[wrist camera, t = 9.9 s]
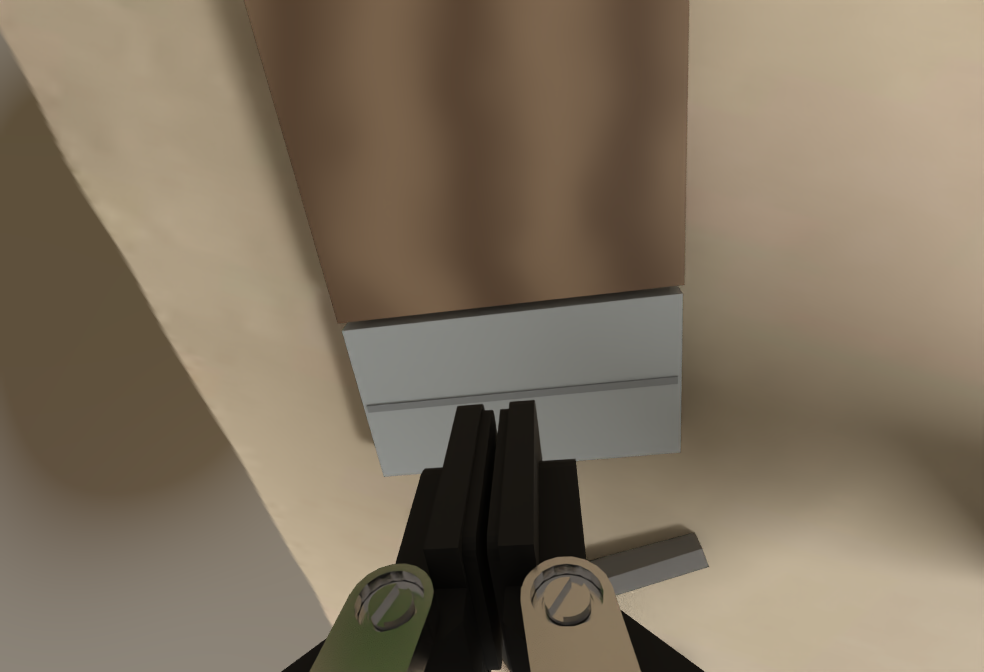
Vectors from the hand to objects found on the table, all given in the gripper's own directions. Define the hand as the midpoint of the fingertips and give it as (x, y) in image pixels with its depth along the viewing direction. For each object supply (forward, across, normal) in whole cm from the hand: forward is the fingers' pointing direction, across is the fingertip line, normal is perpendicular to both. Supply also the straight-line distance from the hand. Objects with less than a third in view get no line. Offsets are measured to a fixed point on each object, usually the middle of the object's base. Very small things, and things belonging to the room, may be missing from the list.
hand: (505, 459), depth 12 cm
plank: (+15, +1, -5) cm, 16 cm away
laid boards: (+16, +1, +7) cm, 17 cm away
